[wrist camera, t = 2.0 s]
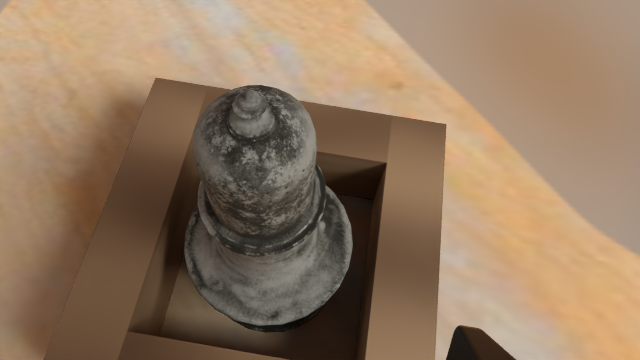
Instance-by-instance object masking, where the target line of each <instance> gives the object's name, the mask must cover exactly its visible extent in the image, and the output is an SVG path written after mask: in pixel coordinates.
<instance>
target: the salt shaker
mask: <svg viewBox="0 0 640 360" xmlns="http://www.w3.org/2000/svg"><path fill="white" fill-rule="evenodd" d="M192 152H193V157H194V161H195V165H196V168H197V171H198V173H199V176H200V178H201V182H200V185H199V190H198V205H197V206H196V208H195V209H194V210H193V212H192V215H191V218H190V220H189V223H188V226H187V229H186V232H185V246H184V255H185V260H186V264H187V269H188V274H189V276H190V277H191V279H192V281H193V283H194V285H195V287H196V288H197V290H198V292H199V294H200V295H201V296H202V297H203V298H204V299H205V300H206V301H207V302H208V303H209V304H210V305H211V306H212V307H213V308H214V309H215V310H217V311H219V312H221V313H223V314H225V315H226V316H228V317H230V318H231V319H232V320H233V321H235V322H237V323H239V324H241V325H243V326H244V327H246V328H248V329H252V330H256V331H261V332H265V333H267V332H284V331H287V330H290V329H293V328H296V327H299V326H301V325H302V324H304V323H305V322H307V321H308V320H310V319H311V318H313V317H314V316H315V315H316V314H317V313H318V312H319V311H320V310H321V309H322V307H323V306H324V305H325V304H326V302H327V300H328V299H329V298H330V297H331V296H332V295H333V294H334V293H335V291H336V290H337V289H338V288H339V287H340V285H341V282H342V280H343V278H344V276H345V274H346V272H347V270H348V268H349V264H350V259H351V253H352V248H353V242H352V231H351V224H350V222H349V219H348V216H347V214H346V211H345V208H344V206H343V205H342V203H341V202H340V201H339V199H338V198H337V196H336V195H335V194H334V192H333V191H332V190H331V189H330V188H329V187H327V186H326V183H325V180H324V177H323V174H322V171H321V169H320V167H319V166H318V164H317V163H316V152H317V140H316V131H315V129H314V126H313V123H312V120H311V117H310V115H309V113H308V112H307V110H306V109H305V108H304V106H303V105H302V104H301V103H300V102H299V101H298V100H297V99H295V98H294V97H293V96H292V95H290V94H288V93H286V92H284V91H281V90H279V89H277V88H273V87H268V86H263V85H249V86H244V87H240V88H235V89H233V90H231V91H229V92H227V93H225V94H223V95H221V96H219V97H218V98H217V99H216V100H214V101H213V102H212V103H211V104H209V105H208V106H207V108H206V109H205V110H204V112H203V113H202V114H201V116H200V117H199V119H198V122H197V124H196V127H195V129H194V136H193V150H192Z"/></svg>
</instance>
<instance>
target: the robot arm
mask: <svg viewBox="0 0 640 360" xmlns="http://www.w3.org/2000/svg"><path fill="white" fill-rule="evenodd" d="M446 360H516V359H515V358H513V357H512V356H511V355H510V354H509V353H508V352H507V351H506V350H504V349H503V348H502V347H501V346H500V345H499V344H498V343H496V342H495V341H494V340H493V339H492V338H491V337H490V336H488V335H487V334H486V333H485V332H484V331H483V330H481V329H479V328H474V327H468V326H462V325H460V326H458V327H456V329H455V331H454V334H453V337H452V341H451V344H450V348H449V351H448V355H447V358H446Z"/></svg>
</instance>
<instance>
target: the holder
mask: <svg viewBox="0 0 640 360" xmlns="http://www.w3.org/2000/svg"><path fill="white" fill-rule="evenodd" d="M229 91H231V90H230V89H223V88H217V87H211V86H205V85H198V84H192V83H186V82H180V81H173V80H167V79H161V78H155V81H154V83H153V86H152V88H151V91H150V93H149V96H148V98H147V101H146V103H145V106H144V108H143V111H142V114H141V116H140V119H139V121H138V124H137V126H136V129H135V131H134V134H133V136H132V139H131V141H130V144H129V146H128V149H127V151H126V154H125V156H124V159H123V161H122V164H121V166H120V169H119V171H118V174H117V176H116V179H115V181H114V184H113V186H112V189H111V192H110V194H109V197H108V199H107V202H106V204H105V207H104V209H103V212H102V214H101V217H100V219H99V222H98V224H97V227H96V229H95V232H94V234H93V237H92V239H91V242H90V244H89V247H88V249H87V252H86V254H85V257H84V259H83V262H82V265H81V267H80V270H79V272H78V275H77V277H76V280H75V282H74V285H73V287H72V290H71V292H70V295H69V297H68V300H67V302H66V305H65V307H64V310H63V312H62V315H61V317H60V320H59V322H58V325H57V327H56V330H55V332H54V335H53V337H52V340H51V343H50V345H49V348H48V350H47V353H46V355H45V358H44V360H288V359H282V358H276V357H271V356H265V355H259V354H254V353H248V352H242V351H237V350H231V349H225V348H220V347H214V346H208V345H203V344H197V343H191V342H186V341H180V340H174V339H169V338H163V337H159V334H160V330H161V327H162V324H163V320H164V317H165V314H166V310H167V307H168V304H169V300H170V297H171V294H172V290H173V287H174V284H175V280H176V277H177V274H178V271H179V267H180V264H181V261H182V257H183V254H184V246H185V232H186V229H187V226H188V223H189V220H190V218H191V215H192V212H193V210H194V209H195V208H196V206H197V205H198V190H199V185H200V182H201V178H200V176H199V173H198V171H197V168H196V165H195V161H194V157H193V152H192V150H193V136H194V129H195V127H196V124H197V122H198V119H199V117H200V116H201V114H202V113H203V112H204V110H205V109H206V108H207V106H208V105H209V104H211V103H212V102H213V101H214V100H216V99H217V98H218V97H219V96H221V95H223V94H225V93H227V92H229ZM299 102H300V103H301V104H302V105H303V106H304V108H305V109H306V110H307V112H308V113H309V115H310V117H311V120H312V123H313V126H314V129H315V131H316V140H317V152H316V163H317V164H318V166H319V167H320V169H321V171H322V174H323V177H324V180H325V183H326V186H327V187H329V188H330V189H331V190H332V191H333V192H334V193H336V194H342V195H348V196H354V197H360V198H366V199H373V208H372V216H371V225H370V233H369V241H368V250H367V258H366V266H365V274H364V283H363V291H362V299H361V308H360V316H359V324H358V333H357V341H356V349H355V357H354V360H435V346H436V325H437V305H438V284H439V264H440V243H441V222H442V202H443V181H444V160H445V140H446V124H441V123H435V122H429V121H423V120H416V119H410V118H404V117H398V116H391V115H385V114H379V113H373V112H366V111H360V110H354V109H348V108H342V107H335V106H329V105H323V104H317V103H310V102H304V101H299Z"/></svg>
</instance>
